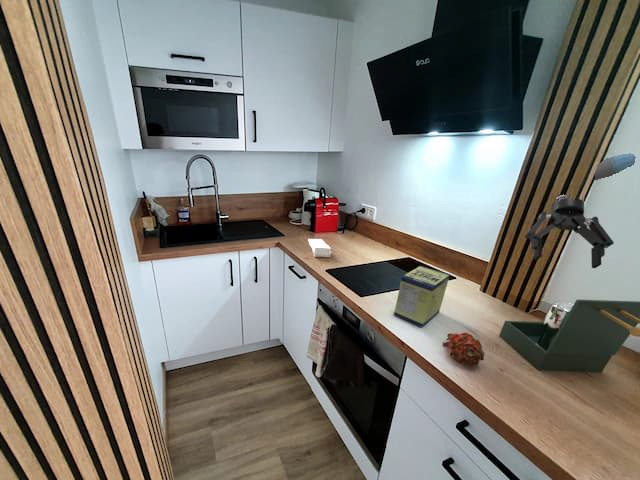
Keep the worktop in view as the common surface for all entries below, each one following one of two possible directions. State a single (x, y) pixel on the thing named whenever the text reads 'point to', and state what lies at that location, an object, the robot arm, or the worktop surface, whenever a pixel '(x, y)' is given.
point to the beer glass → (553, 322)
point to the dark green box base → (524, 342)
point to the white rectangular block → (320, 248)
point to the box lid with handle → (597, 327)
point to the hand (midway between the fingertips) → (566, 262)
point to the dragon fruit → (465, 348)
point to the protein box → (421, 295)
